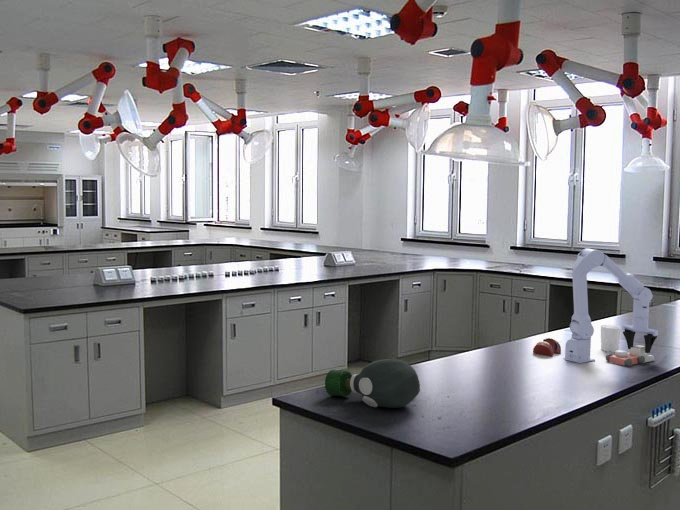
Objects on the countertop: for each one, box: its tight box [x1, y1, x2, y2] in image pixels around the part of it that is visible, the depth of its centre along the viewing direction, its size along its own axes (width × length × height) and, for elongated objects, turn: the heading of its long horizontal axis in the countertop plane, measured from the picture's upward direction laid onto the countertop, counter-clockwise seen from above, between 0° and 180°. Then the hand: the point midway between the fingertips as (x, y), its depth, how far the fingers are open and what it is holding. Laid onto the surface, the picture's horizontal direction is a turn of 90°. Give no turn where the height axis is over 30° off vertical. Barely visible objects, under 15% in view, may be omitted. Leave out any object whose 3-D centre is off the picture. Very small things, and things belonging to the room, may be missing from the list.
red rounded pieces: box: [532, 337, 562, 357], centre depth 283 cm, size 8×6×12 cm
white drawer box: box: [629, 344, 648, 356], centre depth 273 cm, size 5×4×6 cm
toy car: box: [605, 349, 655, 367], centre depth 270 cm, size 18×10×4 cm, turn 122°
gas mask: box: [324, 358, 421, 409], centre depth 213 cm, size 14×18×30 cm
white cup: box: [600, 324, 622, 353], centre depth 290 cm, size 8×8×10 cm
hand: (638, 350), depth 273 cm, fingers open, 7 cm apart
